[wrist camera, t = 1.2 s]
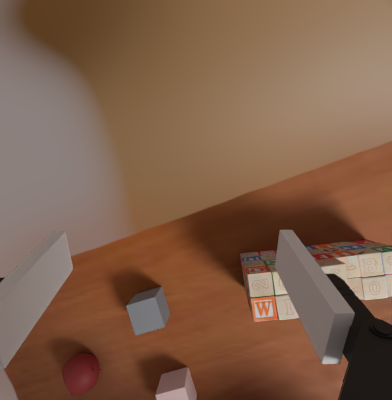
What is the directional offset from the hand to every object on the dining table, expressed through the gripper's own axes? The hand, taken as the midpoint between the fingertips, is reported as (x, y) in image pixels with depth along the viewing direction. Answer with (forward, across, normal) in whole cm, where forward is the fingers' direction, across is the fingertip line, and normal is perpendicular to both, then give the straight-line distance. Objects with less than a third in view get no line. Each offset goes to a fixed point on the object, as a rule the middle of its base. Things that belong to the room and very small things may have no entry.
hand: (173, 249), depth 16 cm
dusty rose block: (+17, +1, +39) cm, 42 cm away
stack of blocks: (+23, -20, +18) cm, 35 cm away
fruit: (+20, +17, +36) cm, 45 cm away
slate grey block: (+23, +6, +26) cm, 35 cm away
